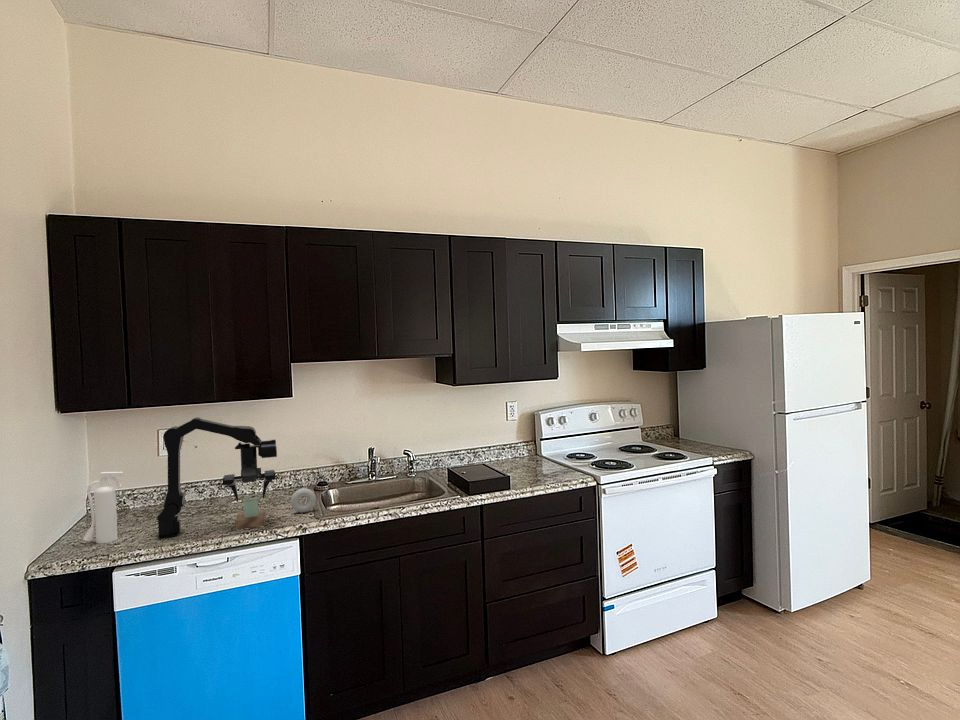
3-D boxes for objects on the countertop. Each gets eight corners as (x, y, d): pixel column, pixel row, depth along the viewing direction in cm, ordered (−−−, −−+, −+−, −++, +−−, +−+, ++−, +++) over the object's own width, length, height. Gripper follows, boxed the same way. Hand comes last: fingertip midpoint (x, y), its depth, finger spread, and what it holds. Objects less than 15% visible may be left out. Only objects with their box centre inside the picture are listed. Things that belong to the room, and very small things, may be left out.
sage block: (244, 518, 206) (243, 502, 205) (244, 514, 210) (243, 499, 210) (258, 516, 208) (257, 500, 207) (258, 512, 212) (257, 497, 212)
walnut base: (235, 531, 202) (235, 520, 202) (238, 523, 212) (238, 513, 212) (264, 527, 206) (263, 517, 206) (265, 520, 215) (265, 510, 215)
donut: (316, 509, 226) (315, 485, 226) (316, 511, 223) (315, 487, 223) (290, 512, 222) (289, 488, 222) (291, 515, 219) (290, 490, 219)
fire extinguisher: (85, 540, 195) (84, 472, 195) (124, 535, 201) (124, 469, 200) (80, 546, 189) (80, 476, 189) (121, 541, 195) (121, 473, 194)
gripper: (220, 466, 197) (222, 508, 198) (275, 460, 204) (276, 501, 205) (222, 460, 208) (224, 500, 208) (274, 455, 215) (276, 494, 215)
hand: (250, 499), depth 209 cm, fingers open, 9 cm apart
